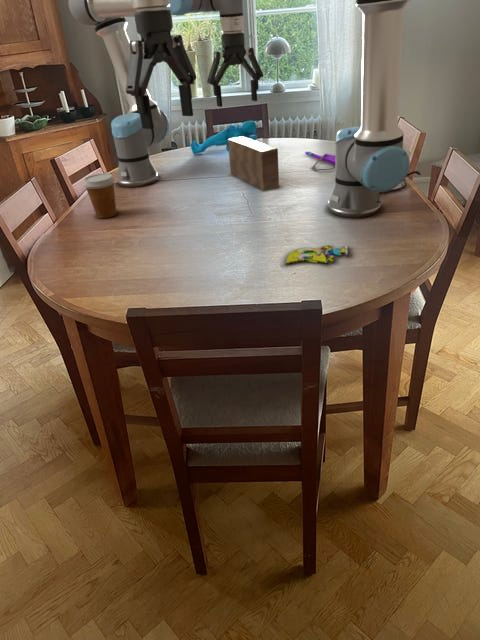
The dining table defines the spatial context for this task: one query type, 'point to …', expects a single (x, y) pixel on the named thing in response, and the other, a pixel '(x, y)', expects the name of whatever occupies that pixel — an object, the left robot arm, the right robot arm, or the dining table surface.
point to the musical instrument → (325, 157)
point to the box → (254, 162)
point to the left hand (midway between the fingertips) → (237, 103)
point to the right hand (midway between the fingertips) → (168, 121)
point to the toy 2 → (315, 255)
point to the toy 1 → (226, 136)
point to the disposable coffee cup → (101, 194)
